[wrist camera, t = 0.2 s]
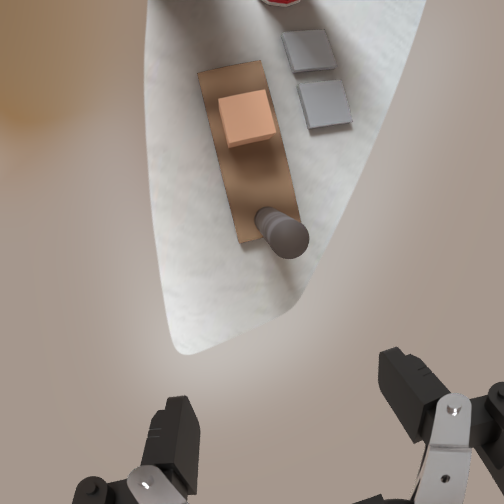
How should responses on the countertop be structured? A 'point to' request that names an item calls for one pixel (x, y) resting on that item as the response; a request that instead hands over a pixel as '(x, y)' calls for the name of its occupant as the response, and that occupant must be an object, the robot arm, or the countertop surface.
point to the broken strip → (323, 92)
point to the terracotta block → (246, 118)
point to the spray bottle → (281, 2)
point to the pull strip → (254, 167)
